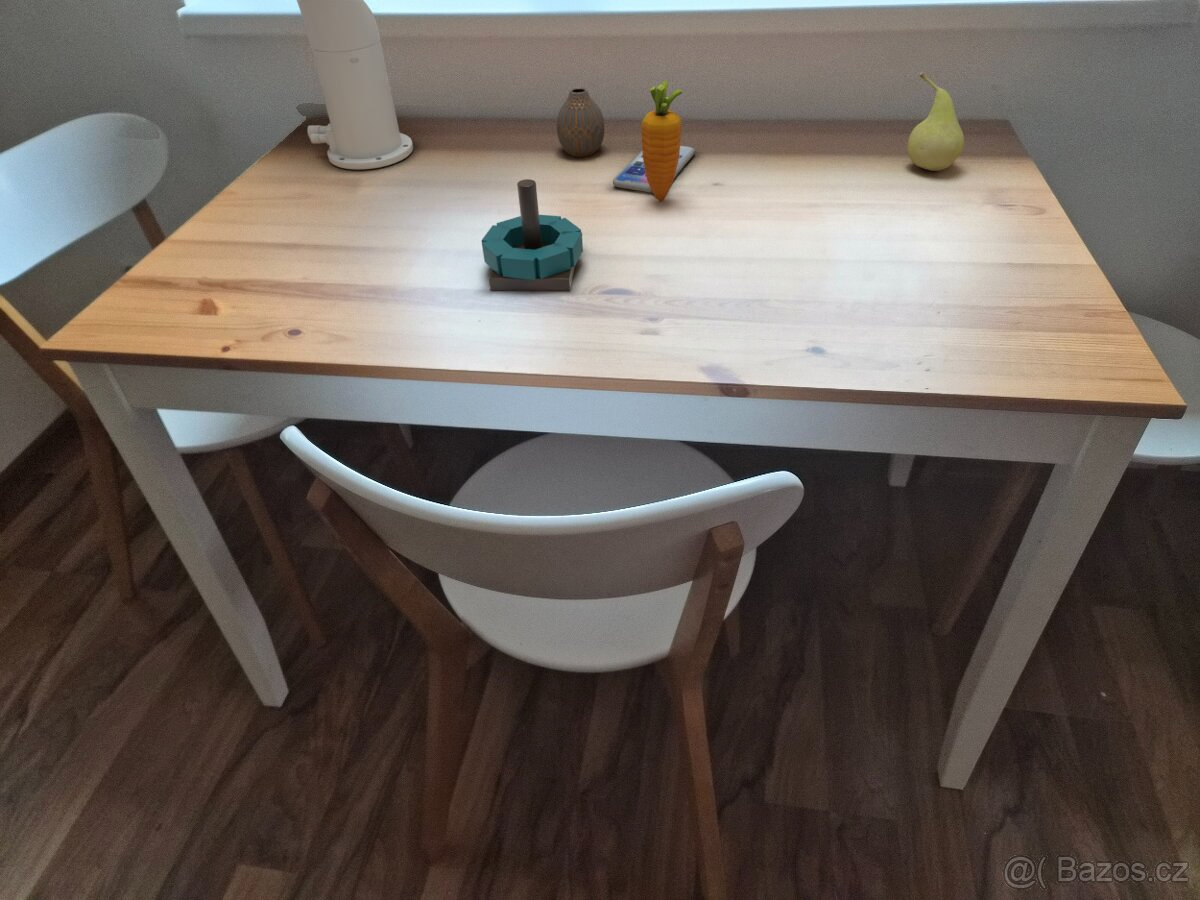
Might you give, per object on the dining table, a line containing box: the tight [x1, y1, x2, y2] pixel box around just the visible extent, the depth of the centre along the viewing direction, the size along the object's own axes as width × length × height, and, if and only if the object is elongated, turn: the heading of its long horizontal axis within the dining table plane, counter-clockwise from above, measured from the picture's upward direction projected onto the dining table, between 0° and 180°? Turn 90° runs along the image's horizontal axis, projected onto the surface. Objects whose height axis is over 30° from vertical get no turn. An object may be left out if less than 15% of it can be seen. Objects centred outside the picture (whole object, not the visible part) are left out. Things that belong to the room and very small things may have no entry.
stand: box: [488, 178, 576, 292], centre depth 90 cm, size 9×9×10 cm
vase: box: [556, 87, 605, 158], centre depth 116 cm, size 7×7×9 cm
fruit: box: [906, 71, 965, 172], centre depth 106 cm, size 7×8×12 cm
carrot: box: [640, 80, 683, 203], centre depth 100 cm, size 5×5×15 cm
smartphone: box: [612, 144, 696, 194], centre depth 113 cm, size 7×1×15 cm
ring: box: [481, 214, 584, 280], centre depth 92 cm, size 11×11×2 cm
